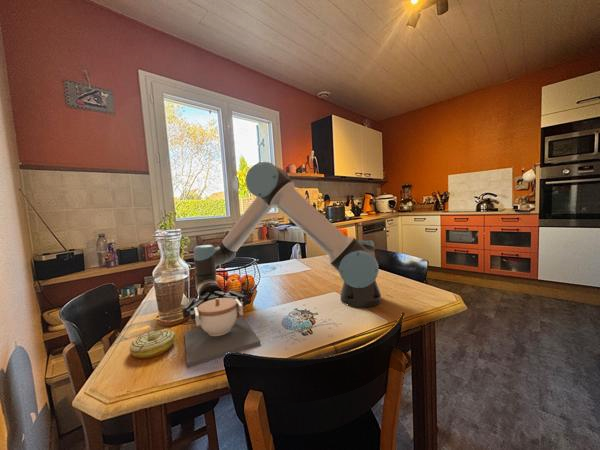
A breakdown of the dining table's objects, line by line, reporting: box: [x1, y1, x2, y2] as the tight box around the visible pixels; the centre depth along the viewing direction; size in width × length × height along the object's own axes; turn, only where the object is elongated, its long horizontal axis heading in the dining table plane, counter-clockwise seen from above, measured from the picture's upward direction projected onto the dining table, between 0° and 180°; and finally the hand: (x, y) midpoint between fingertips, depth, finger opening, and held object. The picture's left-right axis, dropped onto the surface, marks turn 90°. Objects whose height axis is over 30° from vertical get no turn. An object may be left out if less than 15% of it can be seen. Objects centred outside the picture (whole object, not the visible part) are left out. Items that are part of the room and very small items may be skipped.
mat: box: [183, 316, 261, 368], centre depth 69 cm, size 18×18×1 cm
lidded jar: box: [197, 298, 238, 336], centre depth 69 cm, size 11×11×9 cm
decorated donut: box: [129, 329, 176, 359], centre depth 66 cm, size 10×11×4 cm
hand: (220, 315), depth 65 cm, fingers closed on lidded jar, 11 cm apart
